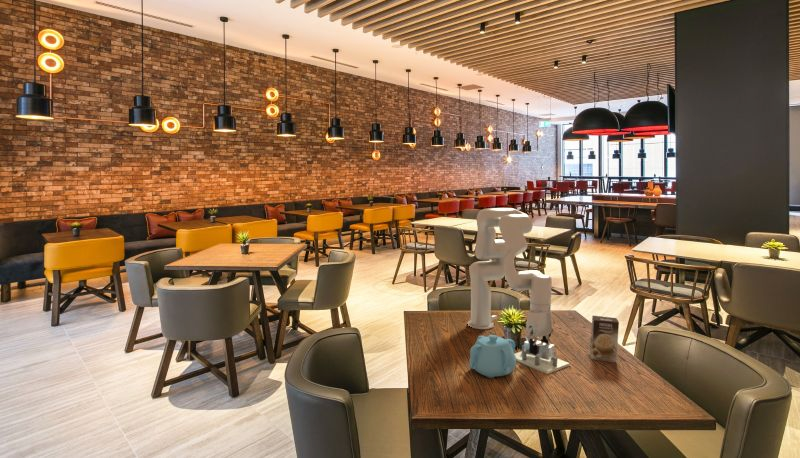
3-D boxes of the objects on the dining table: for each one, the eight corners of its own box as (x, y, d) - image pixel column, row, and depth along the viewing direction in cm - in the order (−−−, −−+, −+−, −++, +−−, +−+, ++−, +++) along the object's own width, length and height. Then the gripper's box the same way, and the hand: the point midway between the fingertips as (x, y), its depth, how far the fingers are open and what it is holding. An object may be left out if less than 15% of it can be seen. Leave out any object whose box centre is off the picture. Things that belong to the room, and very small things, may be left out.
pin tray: (531, 350, 179) (531, 341, 179) (569, 365, 164) (569, 355, 164) (509, 357, 172) (509, 348, 171) (547, 374, 157) (547, 363, 157)
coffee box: (591, 359, 170) (592, 319, 168) (589, 353, 176) (591, 315, 174) (617, 362, 167) (619, 322, 165) (614, 356, 173) (616, 317, 171)
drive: (529, 349, 173) (529, 338, 173) (553, 356, 166) (554, 344, 166) (523, 353, 169) (524, 342, 169) (548, 360, 163) (548, 348, 162)
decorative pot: (508, 385, 149) (509, 347, 147) (464, 375, 156) (464, 339, 155) (519, 367, 163) (520, 332, 161) (478, 359, 170) (479, 325, 169)
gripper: (546, 301, 174) (544, 344, 176) (517, 308, 164) (516, 353, 166) (562, 305, 168) (560, 350, 170) (533, 313, 158) (531, 360, 160)
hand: (538, 351), depth 168 cm, fingers closed on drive, 5 cm apart
